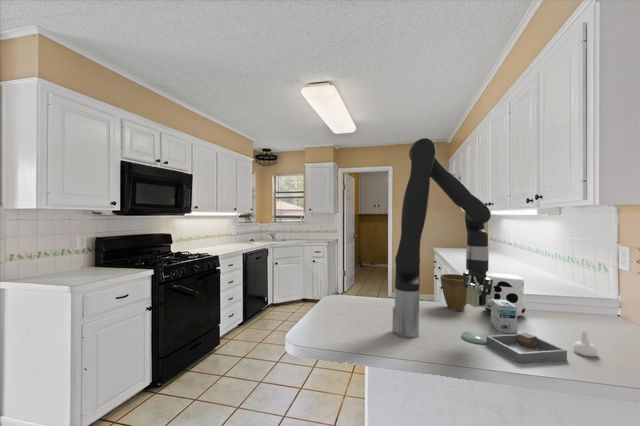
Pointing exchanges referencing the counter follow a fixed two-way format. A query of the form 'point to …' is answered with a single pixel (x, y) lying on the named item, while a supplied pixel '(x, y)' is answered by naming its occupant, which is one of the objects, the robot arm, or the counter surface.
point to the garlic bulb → (585, 346)
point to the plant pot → (454, 290)
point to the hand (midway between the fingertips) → (476, 302)
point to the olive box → (474, 297)
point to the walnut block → (527, 340)
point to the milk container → (507, 291)
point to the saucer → (475, 337)
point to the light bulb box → (504, 316)
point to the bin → (526, 357)
